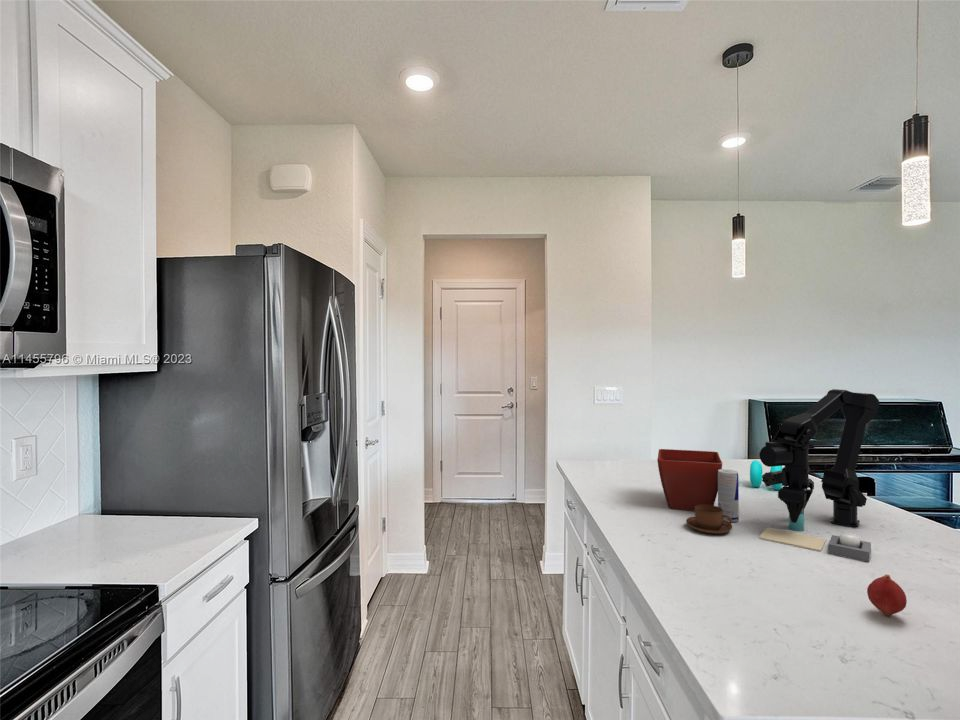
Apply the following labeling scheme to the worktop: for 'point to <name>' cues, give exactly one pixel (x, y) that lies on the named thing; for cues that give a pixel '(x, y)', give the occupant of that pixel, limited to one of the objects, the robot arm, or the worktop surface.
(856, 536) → the button
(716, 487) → the plant pot
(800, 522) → the teal grey-topped cylinder
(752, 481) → the donuts
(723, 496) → the beverage can
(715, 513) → the cup and saucer
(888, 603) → the onion
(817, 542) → the paper pad
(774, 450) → the robot arm
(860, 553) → the button housing
